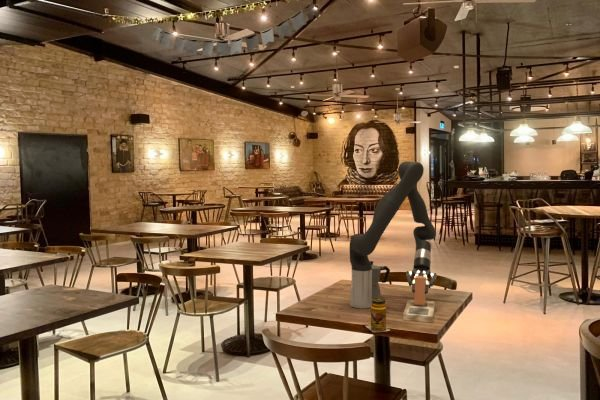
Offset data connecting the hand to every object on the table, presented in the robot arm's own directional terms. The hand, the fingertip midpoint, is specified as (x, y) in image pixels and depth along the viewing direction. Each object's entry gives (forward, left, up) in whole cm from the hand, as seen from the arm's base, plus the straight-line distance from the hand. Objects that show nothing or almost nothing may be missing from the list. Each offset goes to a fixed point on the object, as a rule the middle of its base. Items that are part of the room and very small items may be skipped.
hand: (419, 292), depth 228 cm
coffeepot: (-23, +18, -9) cm, 31 cm away
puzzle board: (0, -3, -8) cm, 9 cm away
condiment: (-14, -29, -9) cm, 34 cm away
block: (0, +2, -5) cm, 6 cm away
